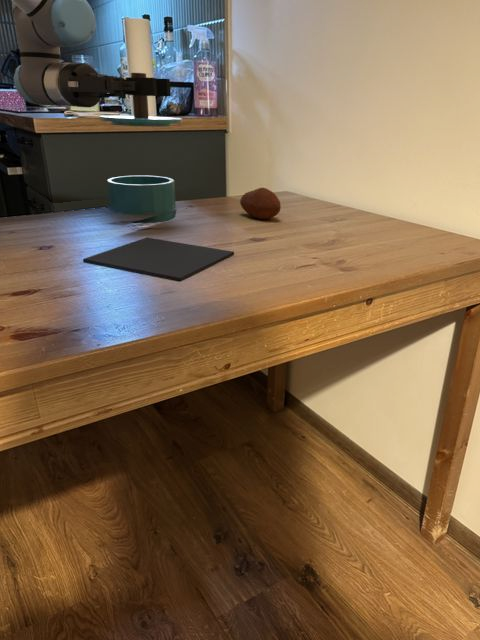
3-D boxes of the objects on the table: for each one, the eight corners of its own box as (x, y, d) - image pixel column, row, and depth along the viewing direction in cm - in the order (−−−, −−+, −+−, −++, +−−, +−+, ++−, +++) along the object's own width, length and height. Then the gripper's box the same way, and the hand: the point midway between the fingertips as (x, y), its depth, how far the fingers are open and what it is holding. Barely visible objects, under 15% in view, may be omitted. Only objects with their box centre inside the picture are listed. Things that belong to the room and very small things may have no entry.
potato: (251, 211, 116) (252, 182, 113) (289, 220, 109) (291, 189, 106) (232, 215, 112) (233, 185, 109) (271, 224, 105) (272, 192, 102)
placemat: (83, 262, 77) (82, 258, 77) (147, 240, 90) (146, 237, 90) (180, 281, 71) (180, 277, 70) (234, 254, 84) (234, 251, 83)
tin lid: (81, 123, 87) (75, 69, 83) (134, 122, 99) (131, 75, 95) (150, 128, 81) (147, 70, 78) (197, 125, 93) (196, 76, 90)
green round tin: (97, 217, 105) (93, 180, 102) (138, 207, 116) (135, 173, 113) (150, 226, 100) (147, 187, 97) (187, 214, 111) (186, 179, 108)
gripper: (109, 107, 104) (193, 112, 92) (41, 106, 92) (128, 111, 80) (105, 66, 100) (192, 65, 89) (34, 59, 89) (124, 57, 77)
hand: (161, 87), depth 85 cm, fingers closed on tin lid, 3 cm apart
